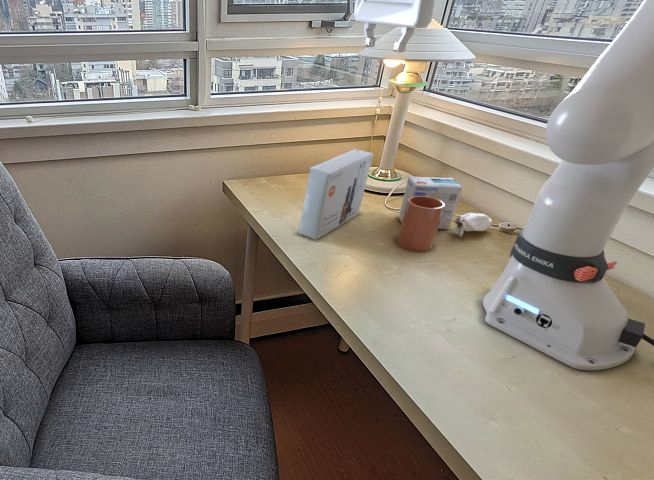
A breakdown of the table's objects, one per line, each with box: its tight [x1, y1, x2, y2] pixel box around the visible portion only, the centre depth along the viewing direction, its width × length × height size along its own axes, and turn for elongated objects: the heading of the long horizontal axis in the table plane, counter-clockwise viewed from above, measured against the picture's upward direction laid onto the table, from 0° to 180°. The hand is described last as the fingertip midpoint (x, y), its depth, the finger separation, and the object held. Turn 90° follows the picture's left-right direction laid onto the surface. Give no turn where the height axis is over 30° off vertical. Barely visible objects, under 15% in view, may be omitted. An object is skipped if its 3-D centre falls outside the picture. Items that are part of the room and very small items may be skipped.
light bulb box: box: [398, 175, 463, 230], centre depth 114 cm, size 11×7×11 cm, turn 84°
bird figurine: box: [449, 212, 495, 238], centre depth 111 cm, size 5×7×10 cm
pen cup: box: [396, 196, 445, 252], centre depth 105 cm, size 7×7×10 cm
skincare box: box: [298, 148, 374, 240], centre depth 112 cm, size 21×6×16 cm, turn 137°
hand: (383, 49), depth 103 cm, fingers open, 8 cm apart
